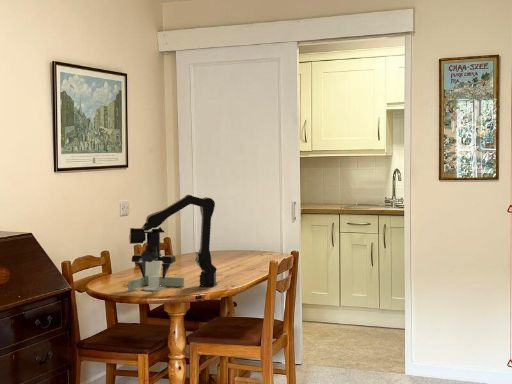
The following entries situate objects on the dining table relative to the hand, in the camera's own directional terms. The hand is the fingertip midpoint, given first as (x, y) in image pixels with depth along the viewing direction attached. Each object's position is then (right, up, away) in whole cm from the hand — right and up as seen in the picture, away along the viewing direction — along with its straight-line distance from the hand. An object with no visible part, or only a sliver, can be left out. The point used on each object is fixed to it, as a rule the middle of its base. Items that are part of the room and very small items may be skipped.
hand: (153, 278), depth 298 cm
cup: (-3, -4, +18) cm, 19 cm away
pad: (0, -5, 0) cm, 5 cm away
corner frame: (+2, -5, 0) cm, 5 cm away
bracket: (0, -4, -2) cm, 5 cm away
